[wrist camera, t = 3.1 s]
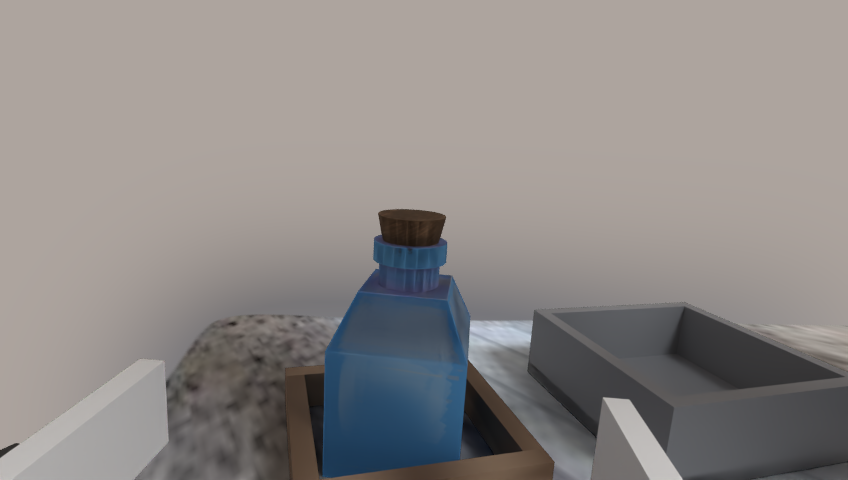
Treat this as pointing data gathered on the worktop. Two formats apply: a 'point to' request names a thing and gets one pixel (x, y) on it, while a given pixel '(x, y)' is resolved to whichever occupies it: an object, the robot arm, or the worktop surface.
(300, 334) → the worktop surface
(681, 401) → the bin
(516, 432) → the holder
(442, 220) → the perfume bottle
